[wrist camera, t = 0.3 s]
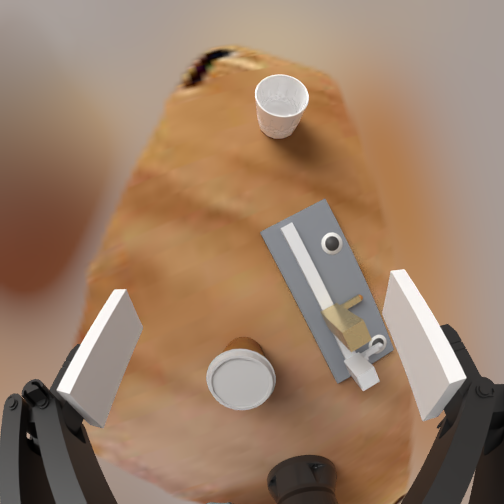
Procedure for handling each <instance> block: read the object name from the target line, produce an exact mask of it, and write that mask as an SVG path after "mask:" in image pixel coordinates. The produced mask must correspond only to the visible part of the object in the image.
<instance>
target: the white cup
mask: <svg viewBox="0 0 504 504" xmlns="http://www.w3.org/2000/svg"><path fill="white" fill-rule="evenodd" d="M255 99H256V110H257V117H258V123H259V126H260V129H261V131H262V132H264V133H265V134H266V135H267V136H269V137H272V138H274V139H282V138H285V137H287V136H290V135H291V134H292V133H293V131H294V130H295V129H296V127H297V125H298V123H299V121H300V120H301V118H302V115H303V113H304V111H305V109H306V107H307V104H308V101H309V95H308V91H307V89H306V87H305V86H304V85H303V84H302V83H301V82H300V81H299V80H297V79H296V78H294V77H291V76H288V75H272V76H269V77H267V78H265V79H263V80H262V81H261V82H260V83H259V84H258V86H257V88H256V91H255Z"/></svg>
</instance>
